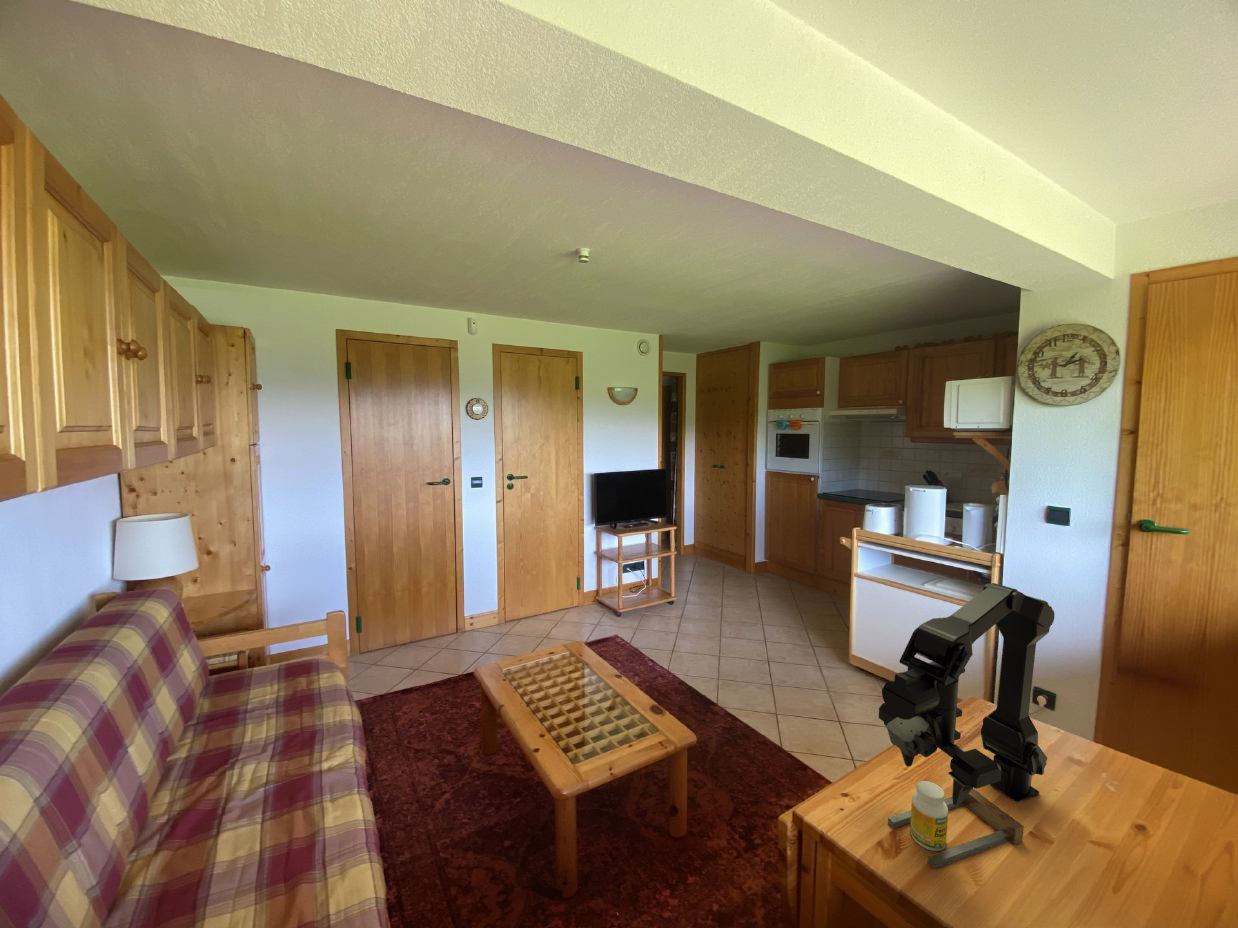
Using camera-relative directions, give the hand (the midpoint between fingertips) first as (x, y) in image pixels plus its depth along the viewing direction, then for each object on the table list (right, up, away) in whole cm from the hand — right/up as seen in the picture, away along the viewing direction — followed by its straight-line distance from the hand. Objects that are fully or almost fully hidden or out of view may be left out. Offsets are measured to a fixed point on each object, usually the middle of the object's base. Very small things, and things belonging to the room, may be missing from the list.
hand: (931, 783), depth 85 cm
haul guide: (+5, -10, +3) cm, 11 cm away
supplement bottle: (0, -11, +1) cm, 11 cm away
